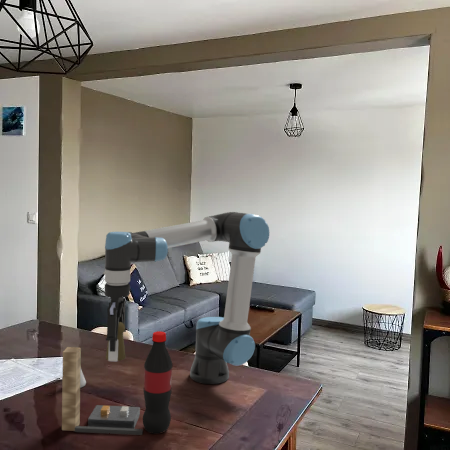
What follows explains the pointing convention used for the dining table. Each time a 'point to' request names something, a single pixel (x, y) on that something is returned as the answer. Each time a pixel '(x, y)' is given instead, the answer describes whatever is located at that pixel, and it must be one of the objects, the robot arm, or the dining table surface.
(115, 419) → the breaker panel
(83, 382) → the flask
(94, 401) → the dining table surface
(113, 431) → the thin curved gray strip
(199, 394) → the dining table surface
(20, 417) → the dining table surface
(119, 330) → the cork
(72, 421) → the oak post
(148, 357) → the cola bottle
